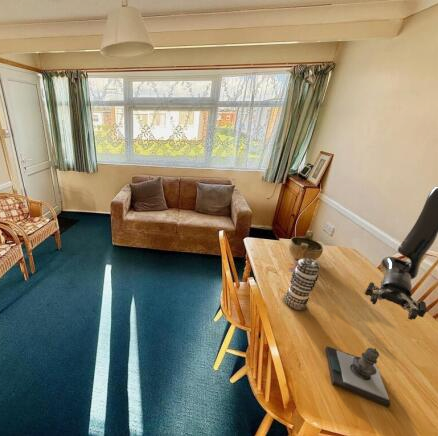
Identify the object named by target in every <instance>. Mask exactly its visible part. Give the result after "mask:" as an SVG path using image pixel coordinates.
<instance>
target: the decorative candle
mask: <svg viewBox="0 0 438 436" xmlns="http://www.w3.org/2000/svg"><path fill="white" fill-rule="evenodd" d="M297 261H298V266H297V267H296V269H295V270H294V272H292V274H291V278H290V281H289V282H290V285H289V288H288V289H287V290H286V294H285V296H284V303H285V304H286V305H288V307H289V308H292V309H295V310H296V311H297V310H299V311H301V310H302V311H303V310H304V309H306V307H307V305H308V302H309V299H310V293H311V292H312V291H313V289H314V288H315V285H316V283H317V281H318V280H319V276H320V275H319V274H318V272H319V271H320V270H321V266H320V265H319V263H318V262H317V260H312V259H309V258H304V259H300V260H298V259H297Z"/></svg>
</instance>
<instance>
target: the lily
mask: <svg viewBox="0 0 438 436" xmlns="http://www.w3.org/2000/svg"><path fill="white" fill-rule="evenodd" d="M293 263H294V266H291V267H289V268H288V269H287V270H288V271H289V272H291V273H293V272H294V270H295V269H296V267H297V266H298V260H297V259H296V258H294V259H293Z"/></svg>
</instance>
